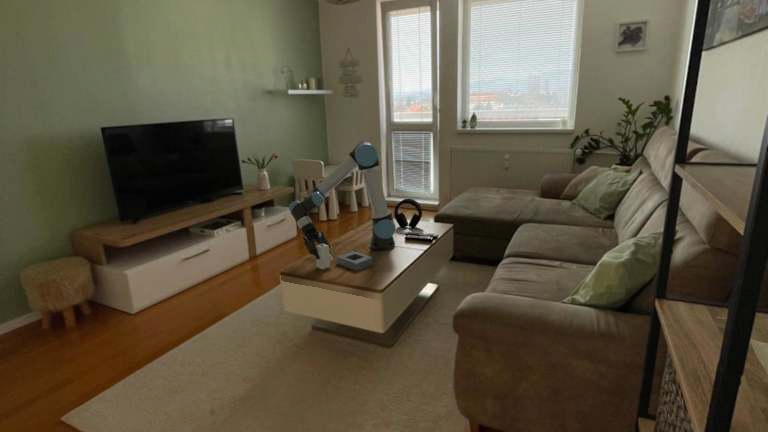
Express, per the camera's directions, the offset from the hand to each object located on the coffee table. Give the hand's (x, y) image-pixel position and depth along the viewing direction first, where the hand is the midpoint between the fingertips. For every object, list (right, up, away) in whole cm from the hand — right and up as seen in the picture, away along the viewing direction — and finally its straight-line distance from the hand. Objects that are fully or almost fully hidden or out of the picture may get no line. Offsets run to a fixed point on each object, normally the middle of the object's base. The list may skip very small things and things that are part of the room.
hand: (327, 261), depth 224 cm
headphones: (+47, +16, +72) cm, 87 cm away
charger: (-3, -3, +3) cm, 5 cm away
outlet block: (+14, -2, +7) cm, 16 cm away
